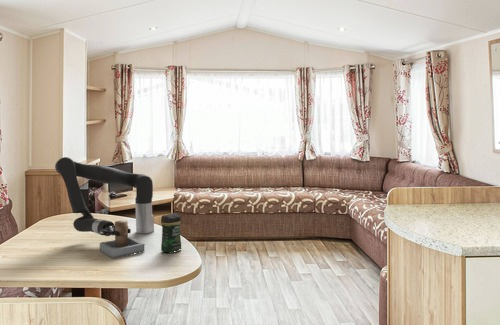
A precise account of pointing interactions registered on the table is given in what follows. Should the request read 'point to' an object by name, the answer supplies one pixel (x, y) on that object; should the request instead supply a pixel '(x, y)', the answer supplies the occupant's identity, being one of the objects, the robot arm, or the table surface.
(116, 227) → the brown cylinder
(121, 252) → the grey tub
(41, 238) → the table surface
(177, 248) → the coffee jar
